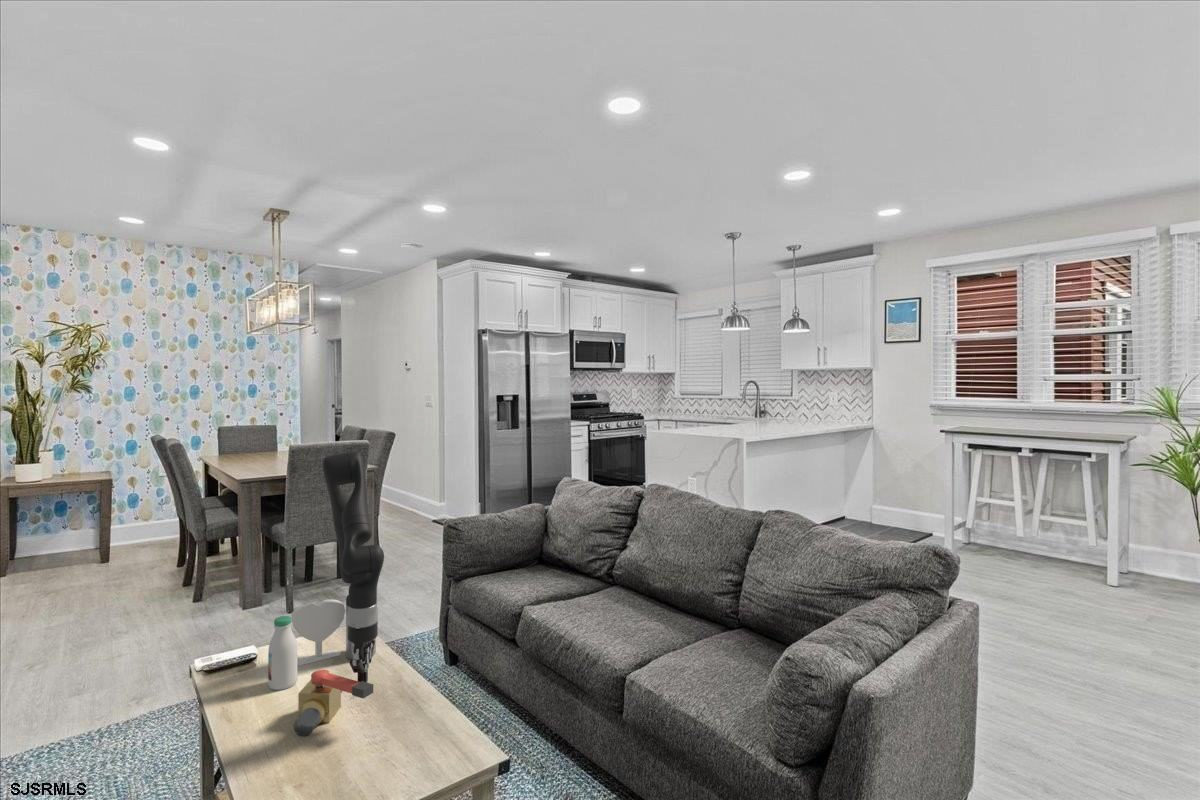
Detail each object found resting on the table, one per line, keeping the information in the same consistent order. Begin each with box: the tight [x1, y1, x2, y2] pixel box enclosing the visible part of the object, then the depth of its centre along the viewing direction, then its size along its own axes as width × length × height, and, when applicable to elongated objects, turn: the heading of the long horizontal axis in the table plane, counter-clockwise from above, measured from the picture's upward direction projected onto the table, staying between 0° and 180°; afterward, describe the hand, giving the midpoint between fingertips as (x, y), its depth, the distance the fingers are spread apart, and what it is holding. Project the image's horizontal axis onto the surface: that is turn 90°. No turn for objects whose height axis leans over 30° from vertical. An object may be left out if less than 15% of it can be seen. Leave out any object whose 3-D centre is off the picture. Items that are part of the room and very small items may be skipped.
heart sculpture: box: [291, 599, 346, 666], centre depth 199 cm, size 16×5×18 cm, turn 128°
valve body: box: [293, 679, 343, 737], centre depth 165 cm, size 20×8×9 cm, turn 2°
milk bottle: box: [267, 615, 298, 691], centre depth 181 cm, size 8×8×20 cm
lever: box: [310, 669, 374, 699], centre depth 162 cm, size 20×4×2 cm, turn 65°
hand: (362, 683), depth 163 cm, fingers closed
